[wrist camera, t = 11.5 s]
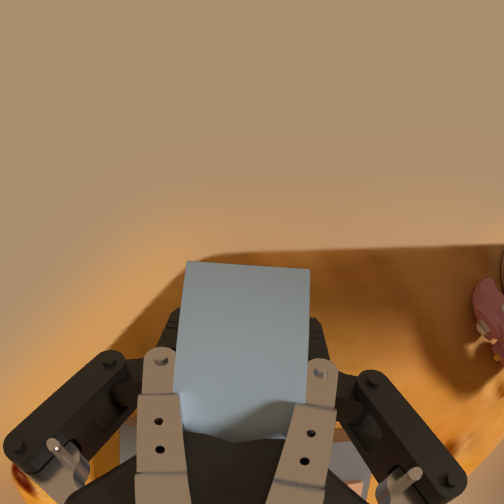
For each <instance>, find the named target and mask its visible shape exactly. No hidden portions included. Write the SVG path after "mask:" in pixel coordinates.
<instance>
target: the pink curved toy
mask: <svg viewBox="0 0 504 504" xmlns="http://www.w3.org/2000/svg"><path fill="white" fill-rule="evenodd" d="M472 303H473V307H474V314H475V316H476V319H477V322H476V326H477V330H478V332H479V333H480V334H482V335H484V337H485V338H487V339H488V340H492V339H493V338H494V339H497V340H498V341H497V342H496V343H495V344H494V345H493V346H492V347H491V350H492V352H493V354H494V355H493V358H494V360H496V361H499V362H500V363H501V364H502V365H503V366H504V295H503V294H502V293H501V292H500V291H499V290H498V289H497V286H496V284H495V282H494V280H493V279H492V278H485V279H483V280H482V281H480V282H479V283H478V284H477V286H476V287H475V289H474V292H473V296H472Z"/></svg>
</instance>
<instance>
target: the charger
mask: <svg viewBox="0 0 504 504" xmlns="http://www.w3.org/2000/svg"><path fill="white" fill-rule="evenodd" d="M309 313H310V269H299V268H283V267H268V266H253V265H239V264H225V263H211V262H197V261H187V264H186V270H185V277H184V285H183V293H182V301H181V309H180V317H179V326H178V336H177V346H176V356H175V368H174V380H173V393H180V398H181V406H182V413H183V420H184V427H185V430H183V431H188V432H195V433H202V434H207V435H210V436H213V437H216V438H220V439H223V440H226V441H229V442H233V443H237V442H244V441H251V440H257V439H286V435H287V431H288V428H289V425H290V421H291V418H292V414H293V411H294V407H295V403H296V402H301V403H305V399H306V384H307V366H308V344H309Z"/></svg>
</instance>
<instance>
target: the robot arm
mask: <svg viewBox="0 0 504 504" xmlns="http://www.w3.org/2000/svg"><path fill="white" fill-rule="evenodd" d="M501 277H502V285H503V290H504V253H503V256H502V262H501ZM180 309H181V308H177V309H176V310H175V311H174V312H172V313H171V315H170V317H169V319H168V322H167V324H166V326H165V328H164V330H163V333H162V335H161V337H160V340H159V342H158V344H157V347H156V348H153V349H151V350H149V351H148V352H147V353H146V354H145V356H144V358H140V359H129V360H125V358H124V356H123V354H122V353H120V352H118V351H115V350H107V351H104V352H101V353H99V354H98V355H97V356H96V357H95V358H93V359H92V360H91V361H90V362H89V363H88V364H86V365H85V366H84V367H83V368H82V369H81V370H80V371H78V372H77V373H76V374H75V375H74V376H73V377H72V378H70V379H69V380H68V381H67V382H66V383H65V384H64V385H62V386H61V387H60V388H59V389H58V390H57V391H56V392H54V393H53V394H52V395H51V396H50V397H49V398H48V399H47V400H46V401H45V402H43V403H42V404H41V405H40V406H39V407H38V408H37V409H36V410H34V411H33V412H32V413H31V414H30V415H29V416H28V417H27V418H26V419H24V420H23V421H22V422H21V423H20V424H19V425H18V426H17V427H16V428H15V429H13V430H12V431H11V432H10V433H9V434H8V435H7V436H6V438H5V440H4V443H3V449H4V452H5V455H6V456H7V457H8V458H9V459H10V460H11V461H12V462H13V463H14V464H15V465H16V466H17V467H18V468H19V469H20V470H21V471H22V472H23V473H24V474H25V475H26V476H28V477H29V478H30V479H31V480H32V481H34V482H35V483H37V484H38V485H39V486H40V487H41V488H42V489H43V490H44V491H45V492H46V493H47V494H48V495H49V496H50V497H51V498H53V499H54V500H55V501H56V502H57V503H58V504H369V503H368V502H367V501H365V500H364V499H363V498H362V497H361V496H359V495H358V494H357V493H356V492H355V491H353V490H352V489H351V488H350V487H349V486H348V485H347V484H345V483H344V482H343V481H342V480H341V479H340V478H339V477H337V476H336V475H335V474H334V473H333V472H332V471H331V470H330V469H329V468H328V465H329V460H330V454H331V448H332V442H333V436H334V429H335V422H336V421H338V422H340V424H341V426H342V427H343V429H344V431H345V432H346V434H347V435H348V437H349V438H350V440H351V442H352V443H353V445H354V446H355V448H356V449H357V451H358V453H359V454H360V456H361V457H362V459H363V460H364V462H365V463H366V465H367V466H368V468H369V470H370V471H371V473H372V474H373V476H374V477H375V479H376V480H377V482H378V483H379V485H378V486H377V488H376V492H375V496H376V499H377V502H378V504H447V503H448V502H450V501H451V500H453V499H454V498H456V497H457V496H459V495H460V494H461V493H462V492H463V491H464V490H465V488H466V486H467V475H466V473H465V471H464V470H463V469H462V467H461V466H460V465H459V464H458V462H457V461H456V460H455V459H454V457H453V456H452V455H451V454H450V452H449V451H448V450H447V449H446V448H445V446H444V445H443V444H442V443H441V441H440V440H439V439H438V438H437V437H436V435H435V434H434V433H433V432H432V430H431V429H430V428H429V427H428V426H427V424H426V423H425V422H424V421H423V420H422V418H421V417H420V416H419V415H418V414H417V412H416V411H415V410H414V409H413V408H412V406H411V405H410V404H409V403H408V402H407V400H406V399H405V398H404V397H403V396H402V394H401V393H400V392H399V391H398V390H397V389H396V387H395V386H394V385H393V384H392V383H391V381H390V380H389V379H388V378H387V377H386V376H385V375H384V374H383V373H381V372H379V371H376V370H365V371H363V372H361V373H360V374H359V376H358V377H357V376H352V375H348V374H344V373H342V372H340V371H338V368H337V367H336V365H335V364H334V363H332V362H331V361H330V358H329V354H328V350H327V346H326V342H325V339H324V334H323V330H322V326H321V324H320V323H319V322H318V320H317V319H316V318H310V317H309V344H308V366H307V384H306V399H305V403H301V402H296V403H295V407H294V411H293V414H292V418H291V421H290V425H289V428H288V431H287V435H286V439H257V440H251V441H244V442H237V443H233V442H229V441H226V440H223V439H220V438H216V437H213V436H210V435H207V434H202V433H195V432H188V431H183V430H185V427H184V420H183V413H182V406H181V398H180V393H173V380H174V368H175V356H176V346H177V336H178V326H179V317H180ZM136 408H137V454H136V455H134V456H133V457H131V458H130V459H128V460H126V461H125V462H123V463H122V464H120V465H119V466H117V467H115V468H114V469H112V470H110V471H109V472H107V473H106V474H104V475H102V476H101V477H99V478H97V479H95V480H94V481H92V482H90V483H88V484H87V485H85V481H86V480H87V479H88V475H89V473H90V464H89V461H90V460H91V459H92V457H93V456H94V455H95V454H96V453H97V452H98V451H99V450H100V449H101V447H102V446H103V445H104V444H105V443H106V442H107V441H108V440H109V438H110V437H111V436H112V435H113V434H114V433H115V432H116V431H117V430H118V428H119V427H120V426H121V425H122V424H123V423H124V422H125V421H126V419H127V418H128V417H129V416H130V415H131V414H132V413H133V411H134V410H135V409H136Z"/></svg>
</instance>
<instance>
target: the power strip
mask: <svg viewBox="0 0 504 504" xmlns="http://www.w3.org/2000/svg"><path fill="white" fill-rule="evenodd" d="M136 454H137V416H135V417H133V418H130V419H128V420H126V421H125V422H124V423H123V424H122V425H121V426H120V464H122V463H123V462H125V461H126V460H128V459H130V458H131V457H133V456H134V455H136ZM328 468H329V469H330V470H331V471H332V472H333V473H334V474H335V475H336V476H337V477H339V478H340V479H341V480H342V481H343V482H344V483H345V484H347V485H348V486H349V487H350V488H351V489H352V490H353V491H355V492H356V493H357V494H358V495H359V496H361V497H362V498H363V499H364V500H365V501H366V498H367V493H368V488H369V483H370V477H371V471H370V470H369V468H368V466H367V465H366V463H365V462H364V460H363V459H362V457H361V456H360V454H359V453H358V451H357V449H356V448H355V446H354V445H353V443H352V442H351V440H350V438H349V437H348V435H347V434H346V432H345V431H344V429H334V436H333V442H332V448H331V454H330V460H329V465H328Z"/></svg>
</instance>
